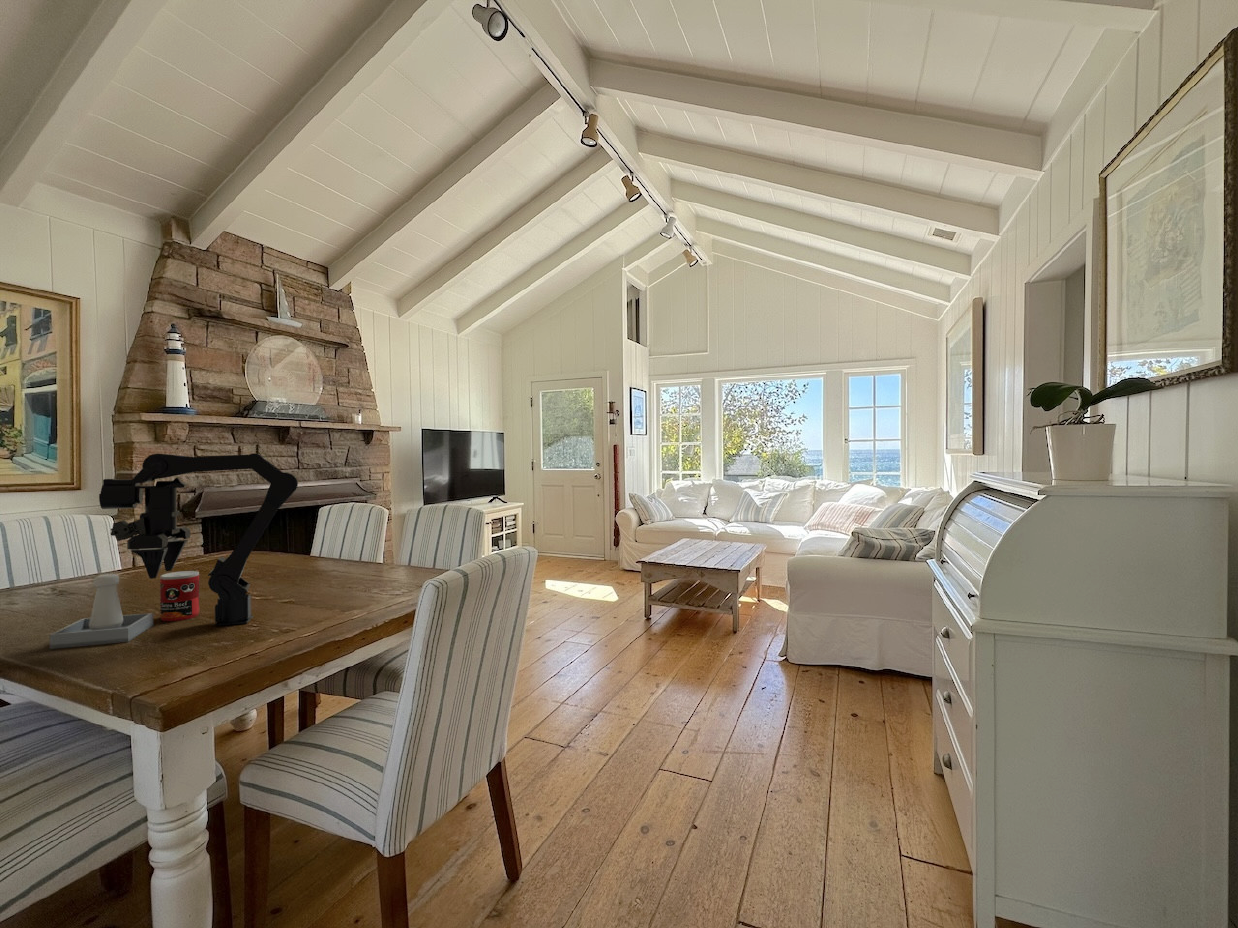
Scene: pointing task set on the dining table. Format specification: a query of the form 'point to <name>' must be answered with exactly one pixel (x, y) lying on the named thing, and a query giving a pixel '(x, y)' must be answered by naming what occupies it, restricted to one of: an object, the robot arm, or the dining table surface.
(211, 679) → the dining table surface
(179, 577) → the canned food
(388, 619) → the dining table surface
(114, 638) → the tray
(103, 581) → the salt shaker
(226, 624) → the robot arm
